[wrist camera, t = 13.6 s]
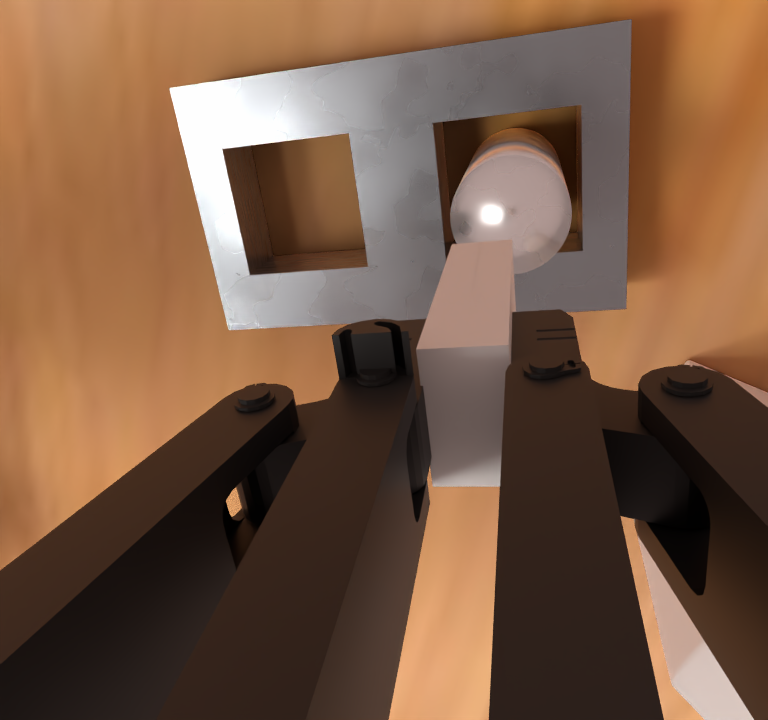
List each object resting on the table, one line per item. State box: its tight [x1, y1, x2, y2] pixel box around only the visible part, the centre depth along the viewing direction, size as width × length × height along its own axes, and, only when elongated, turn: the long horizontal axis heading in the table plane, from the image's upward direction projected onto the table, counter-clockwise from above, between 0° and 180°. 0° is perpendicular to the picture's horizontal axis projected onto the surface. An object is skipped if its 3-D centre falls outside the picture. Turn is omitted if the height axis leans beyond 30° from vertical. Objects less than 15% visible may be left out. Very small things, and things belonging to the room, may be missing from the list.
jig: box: [169, 19, 632, 330], centre depth 32 cm, size 20×12×4 cm, turn 98°
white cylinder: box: [450, 128, 572, 274], centre depth 28 cm, size 4×4×9 cm
